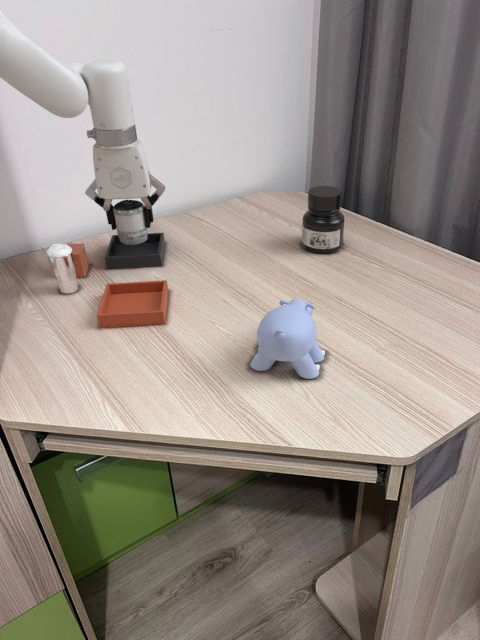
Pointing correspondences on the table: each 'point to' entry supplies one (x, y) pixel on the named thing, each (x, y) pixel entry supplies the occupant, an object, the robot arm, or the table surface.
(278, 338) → the hippopotamus toy
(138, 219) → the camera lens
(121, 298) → the terracotta tray
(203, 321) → the table surface
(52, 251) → the milkshake
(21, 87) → the robot arm
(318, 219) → the ink bottle
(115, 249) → the charcoal tray
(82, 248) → the terracotta block
